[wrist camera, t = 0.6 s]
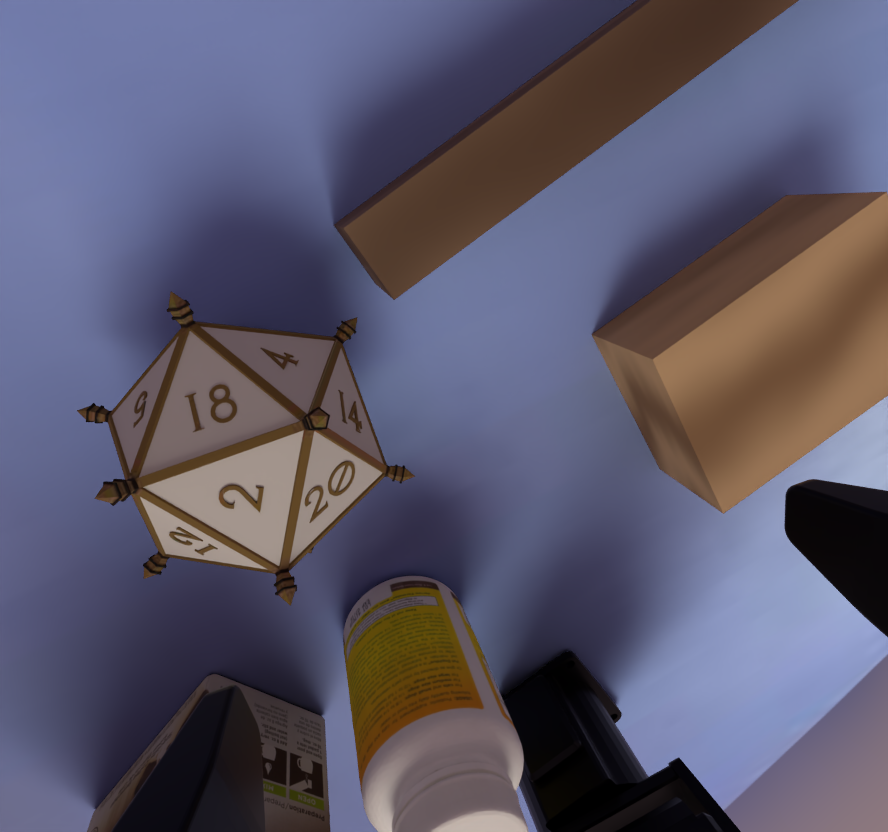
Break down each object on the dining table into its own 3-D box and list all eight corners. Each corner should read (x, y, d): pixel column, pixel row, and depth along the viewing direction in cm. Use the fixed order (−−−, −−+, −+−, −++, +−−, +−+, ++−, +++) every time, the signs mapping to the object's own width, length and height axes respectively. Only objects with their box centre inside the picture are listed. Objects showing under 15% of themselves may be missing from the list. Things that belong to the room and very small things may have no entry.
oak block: (824, 346, 26) (921, 370, 22) (656, 466, 26) (723, 513, 22) (781, 195, 23) (886, 191, 19) (587, 333, 23) (652, 359, 19)
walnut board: (866, -80, 20) (996, -147, 16) (375, 283, 20) (394, 300, 16) (851, -159, 19) (987, -249, 15) (333, 225, 19) (343, 228, 15)
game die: (277, 331, 23) (410, 224, 15) (347, 519, 23) (511, 509, 16) (19, 386, 17) (21, 261, 9) (118, 632, 18) (198, 707, 10)
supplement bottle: (315, 635, 24) (329, 900, 15) (400, 547, 24) (469, 763, 14) (404, 685, 26) (465, 940, 17) (483, 605, 26) (589, 823, 17)
